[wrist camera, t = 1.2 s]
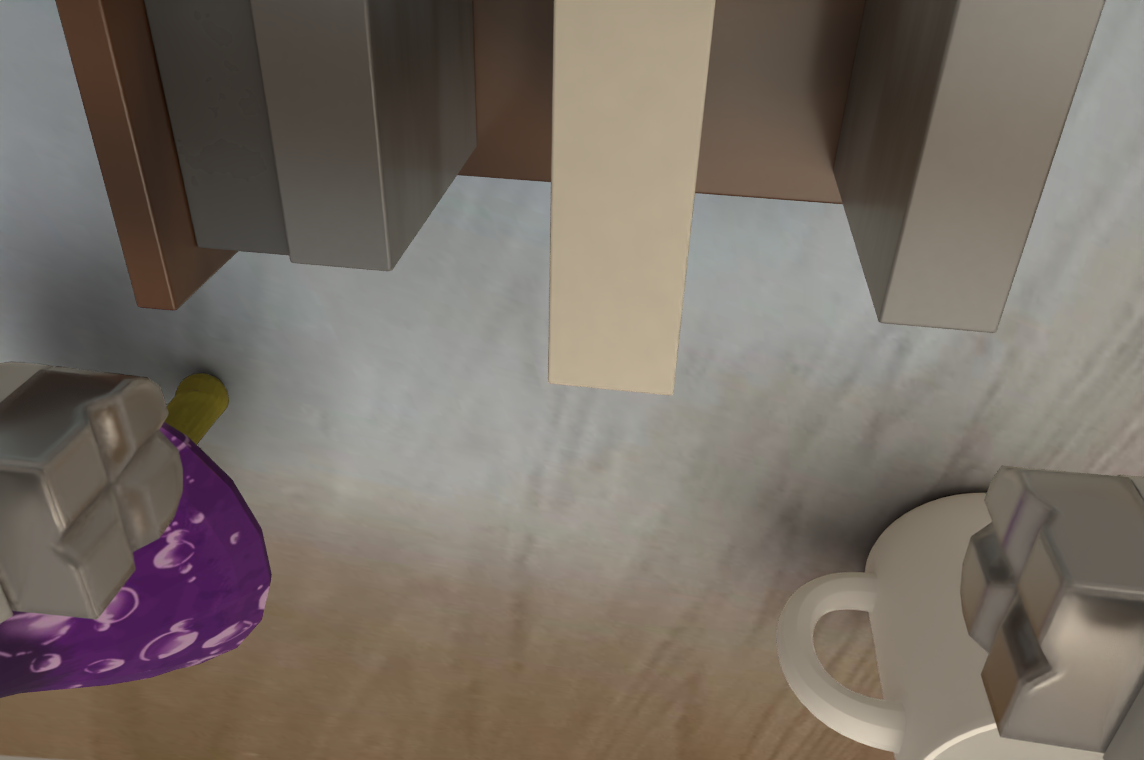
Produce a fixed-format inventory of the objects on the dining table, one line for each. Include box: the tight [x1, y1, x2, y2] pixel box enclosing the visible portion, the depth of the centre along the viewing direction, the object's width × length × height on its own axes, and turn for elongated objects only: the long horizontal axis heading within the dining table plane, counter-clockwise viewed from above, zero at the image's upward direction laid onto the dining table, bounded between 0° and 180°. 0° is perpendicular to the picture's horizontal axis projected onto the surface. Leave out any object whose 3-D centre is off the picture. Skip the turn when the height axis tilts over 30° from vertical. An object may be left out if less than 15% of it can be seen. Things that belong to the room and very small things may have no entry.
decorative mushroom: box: [0, 373, 272, 698], centre depth 30 cm, size 12×12×15 cm
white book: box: [548, 0, 716, 395], centre depth 20 cm, size 8×2×13 cm, turn 178°
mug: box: [776, 493, 1104, 760], centre depth 32 cm, size 12×8×10 cm
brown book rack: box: [55, 0, 1106, 333], centre depth 22 cm, size 10×20×11 cm, turn 88°
